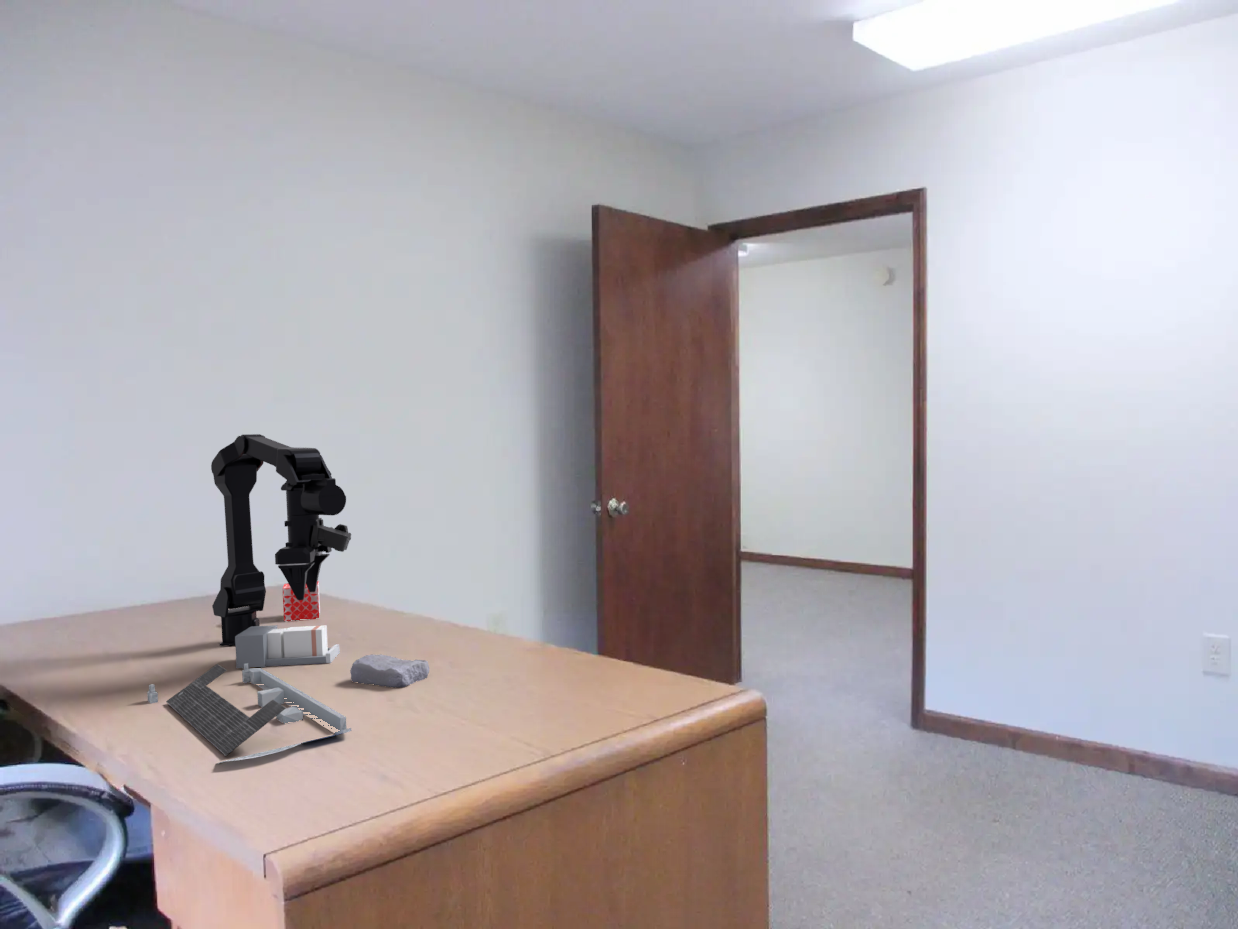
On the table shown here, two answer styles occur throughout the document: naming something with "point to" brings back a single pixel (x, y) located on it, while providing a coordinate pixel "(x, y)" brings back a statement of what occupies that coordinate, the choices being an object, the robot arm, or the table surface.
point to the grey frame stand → (271, 649)
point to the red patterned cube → (300, 604)
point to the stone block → (388, 671)
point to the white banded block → (305, 641)
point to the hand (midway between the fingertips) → (306, 595)
